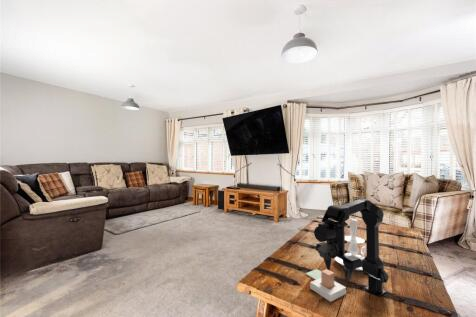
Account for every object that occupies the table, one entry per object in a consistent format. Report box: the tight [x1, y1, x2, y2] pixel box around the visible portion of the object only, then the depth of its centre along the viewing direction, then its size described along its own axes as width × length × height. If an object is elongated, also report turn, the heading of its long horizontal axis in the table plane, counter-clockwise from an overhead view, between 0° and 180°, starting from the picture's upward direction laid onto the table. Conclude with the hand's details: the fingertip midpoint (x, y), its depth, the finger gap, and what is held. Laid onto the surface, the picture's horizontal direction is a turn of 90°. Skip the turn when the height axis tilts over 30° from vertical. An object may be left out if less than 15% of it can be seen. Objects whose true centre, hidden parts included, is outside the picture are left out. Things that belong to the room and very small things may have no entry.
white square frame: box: [309, 278, 347, 303], centre depth 98 cm, size 11×11×3 cm
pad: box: [305, 268, 322, 280], centre depth 111 cm, size 9×9×1 cm
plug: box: [320, 268, 335, 289], centre depth 98 cm, size 4×4×9 cm
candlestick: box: [333, 217, 367, 272], centre depth 123 cm, size 21×25×28 cm
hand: (337, 275), depth 86 cm, fingers open, 9 cm apart
